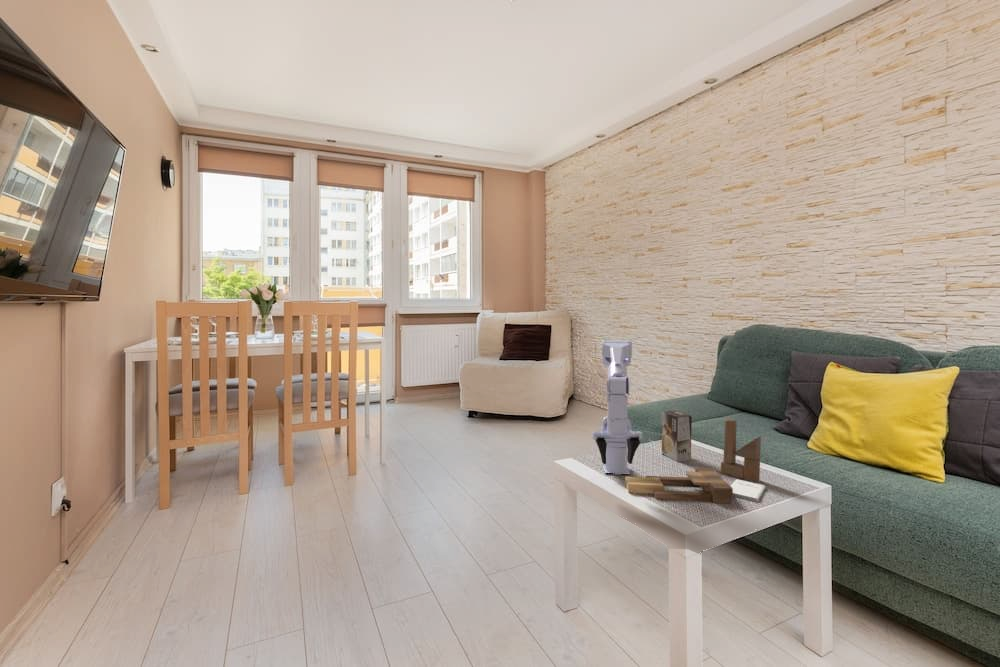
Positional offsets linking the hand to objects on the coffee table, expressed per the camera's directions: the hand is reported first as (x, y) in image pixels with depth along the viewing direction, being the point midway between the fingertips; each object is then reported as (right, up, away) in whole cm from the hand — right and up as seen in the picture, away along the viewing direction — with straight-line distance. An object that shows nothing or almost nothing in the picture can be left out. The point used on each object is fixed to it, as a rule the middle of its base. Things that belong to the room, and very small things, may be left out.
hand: (616, 462), depth 135 cm
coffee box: (+30, -7, +32) cm, 44 cm away
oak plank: (+9, -9, +3) cm, 13 cm away
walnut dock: (+21, -9, +2) cm, 23 cm away
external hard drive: (+39, -10, +1) cm, 40 cm away
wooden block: (+43, -8, +13) cm, 46 cm away
